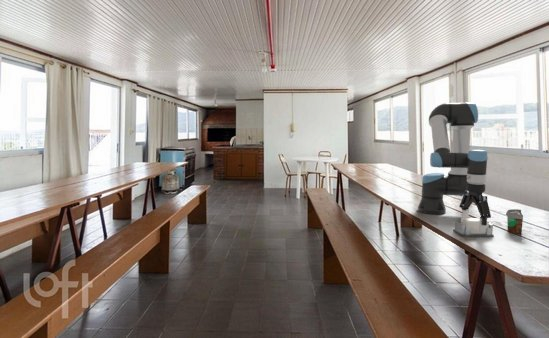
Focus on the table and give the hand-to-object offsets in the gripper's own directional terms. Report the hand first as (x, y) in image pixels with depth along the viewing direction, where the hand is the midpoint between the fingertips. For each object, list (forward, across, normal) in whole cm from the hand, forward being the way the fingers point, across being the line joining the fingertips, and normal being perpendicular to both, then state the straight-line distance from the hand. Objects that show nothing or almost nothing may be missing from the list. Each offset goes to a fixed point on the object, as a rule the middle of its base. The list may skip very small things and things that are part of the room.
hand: (473, 227), depth 148 cm
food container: (+3, -3, +21) cm, 21 cm away
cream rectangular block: (+2, 0, 0) cm, 2 cm away
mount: (+3, 0, 0) cm, 3 cm away
